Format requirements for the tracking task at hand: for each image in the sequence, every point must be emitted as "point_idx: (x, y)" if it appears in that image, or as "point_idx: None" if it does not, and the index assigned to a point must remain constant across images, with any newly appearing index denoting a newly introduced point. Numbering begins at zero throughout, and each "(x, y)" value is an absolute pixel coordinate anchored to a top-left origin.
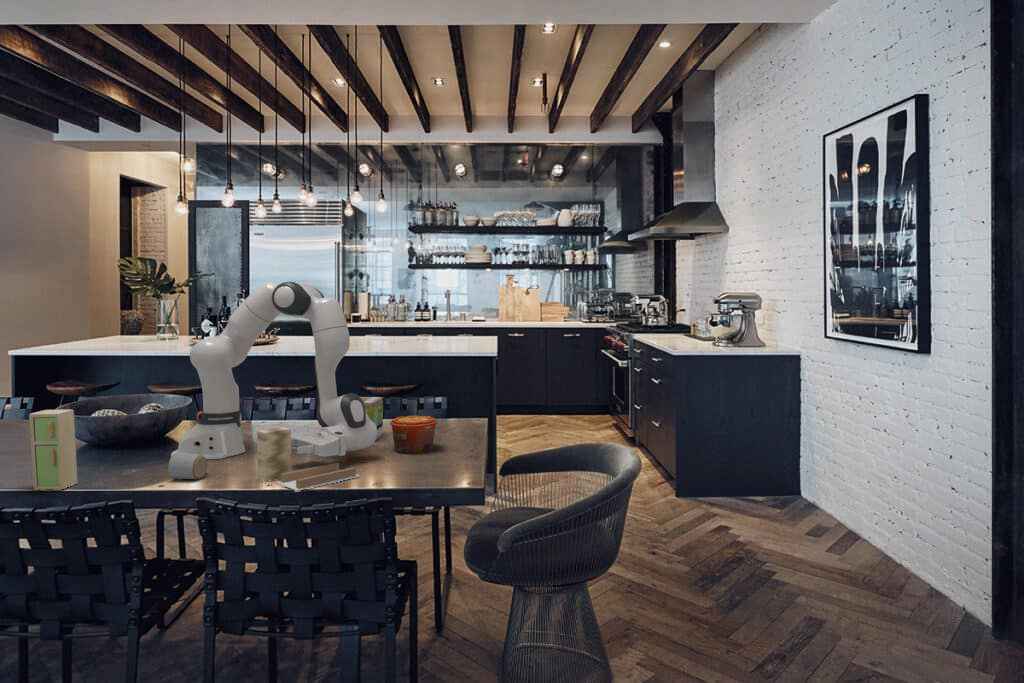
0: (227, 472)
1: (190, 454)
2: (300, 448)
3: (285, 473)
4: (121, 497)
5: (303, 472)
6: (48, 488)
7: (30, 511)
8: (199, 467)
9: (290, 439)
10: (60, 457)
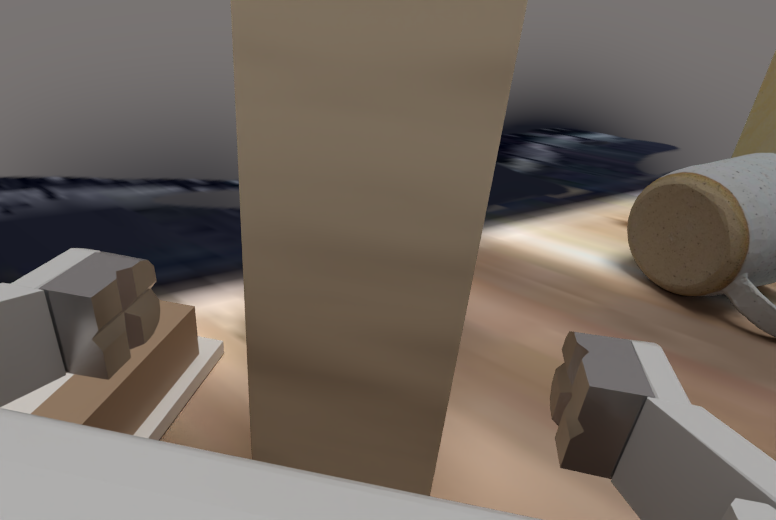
0: (764, 398)
1: (728, 164)
2: (57, 269)
3: (161, 322)
4: (561, 174)
5: None
6: None
7: (569, 134)
8: (662, 226)
9: (240, 146)
10: (761, 85)
